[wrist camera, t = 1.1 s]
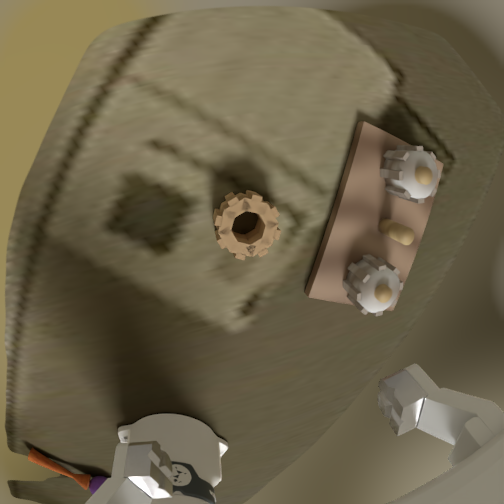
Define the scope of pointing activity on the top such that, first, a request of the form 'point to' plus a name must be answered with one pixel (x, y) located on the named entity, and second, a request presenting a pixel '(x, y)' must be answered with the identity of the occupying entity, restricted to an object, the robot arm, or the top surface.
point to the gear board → (375, 222)
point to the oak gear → (254, 239)
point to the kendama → (80, 478)
